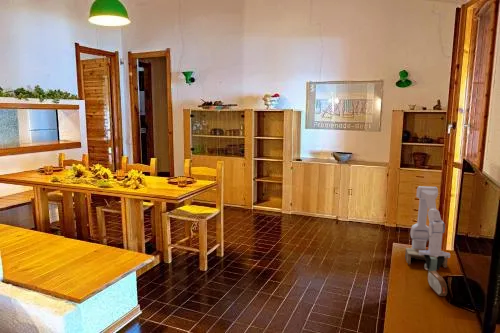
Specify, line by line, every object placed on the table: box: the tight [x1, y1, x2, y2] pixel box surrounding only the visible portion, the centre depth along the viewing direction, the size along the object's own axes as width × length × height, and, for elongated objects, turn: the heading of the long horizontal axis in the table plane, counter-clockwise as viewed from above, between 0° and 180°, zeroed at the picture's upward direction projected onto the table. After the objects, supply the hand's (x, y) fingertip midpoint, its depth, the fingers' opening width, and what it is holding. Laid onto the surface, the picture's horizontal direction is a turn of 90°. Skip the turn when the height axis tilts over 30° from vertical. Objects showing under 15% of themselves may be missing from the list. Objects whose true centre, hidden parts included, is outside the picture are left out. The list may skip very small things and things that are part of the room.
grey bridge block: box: [404, 247, 449, 269], centre depth 208 cm, size 9×20×6 cm, turn 76°
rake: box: [423, 257, 438, 273], centre depth 196 cm, size 11×4×10 cm, turn 166°
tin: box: [427, 270, 448, 297], centre depth 177 cm, size 15×3×8 cm, turn 179°
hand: (432, 269), depth 192 cm, fingers open, 4 cm apart
